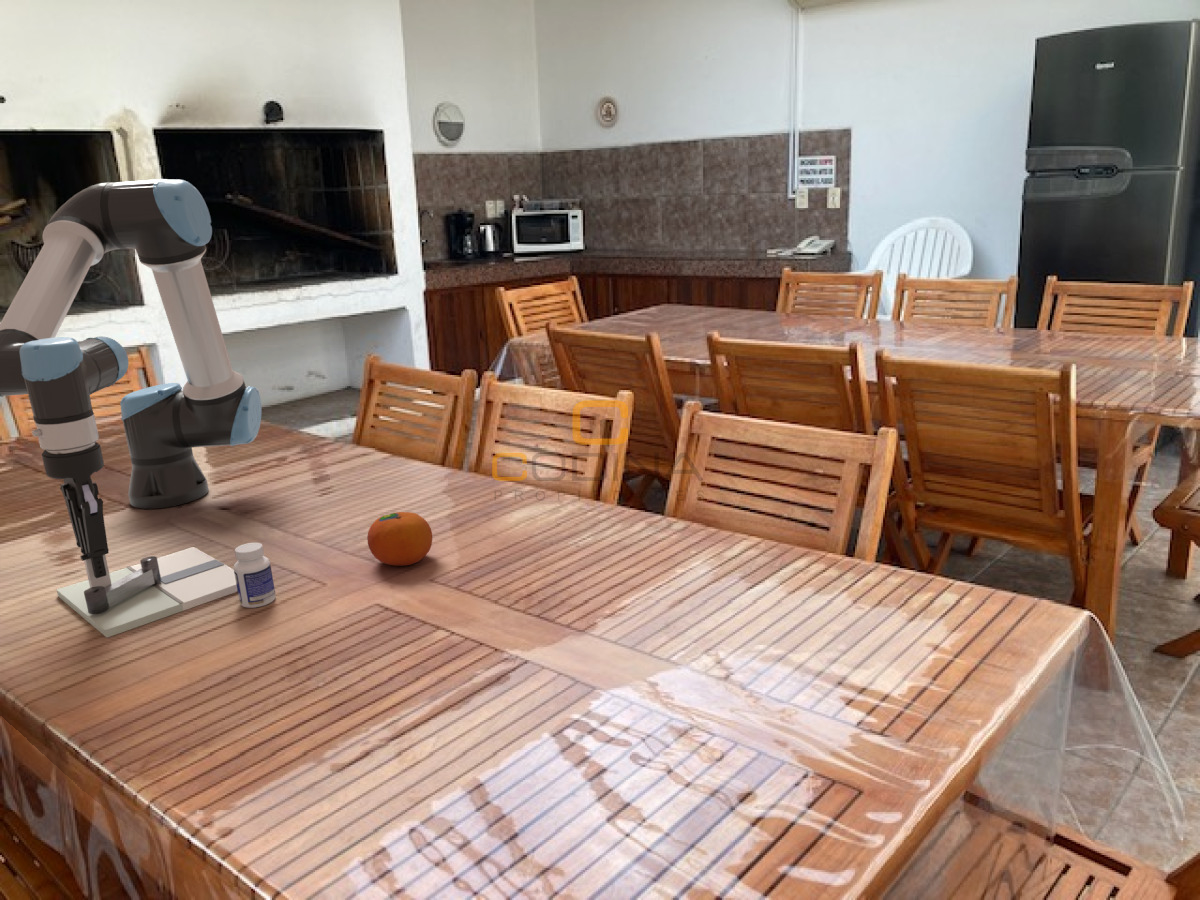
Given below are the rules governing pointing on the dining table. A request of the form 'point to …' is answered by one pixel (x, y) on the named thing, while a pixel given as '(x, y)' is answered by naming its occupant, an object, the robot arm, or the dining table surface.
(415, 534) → the fruit
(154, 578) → the swing bar
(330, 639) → the dining table surface
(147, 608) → the door board
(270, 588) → the pill bottle
